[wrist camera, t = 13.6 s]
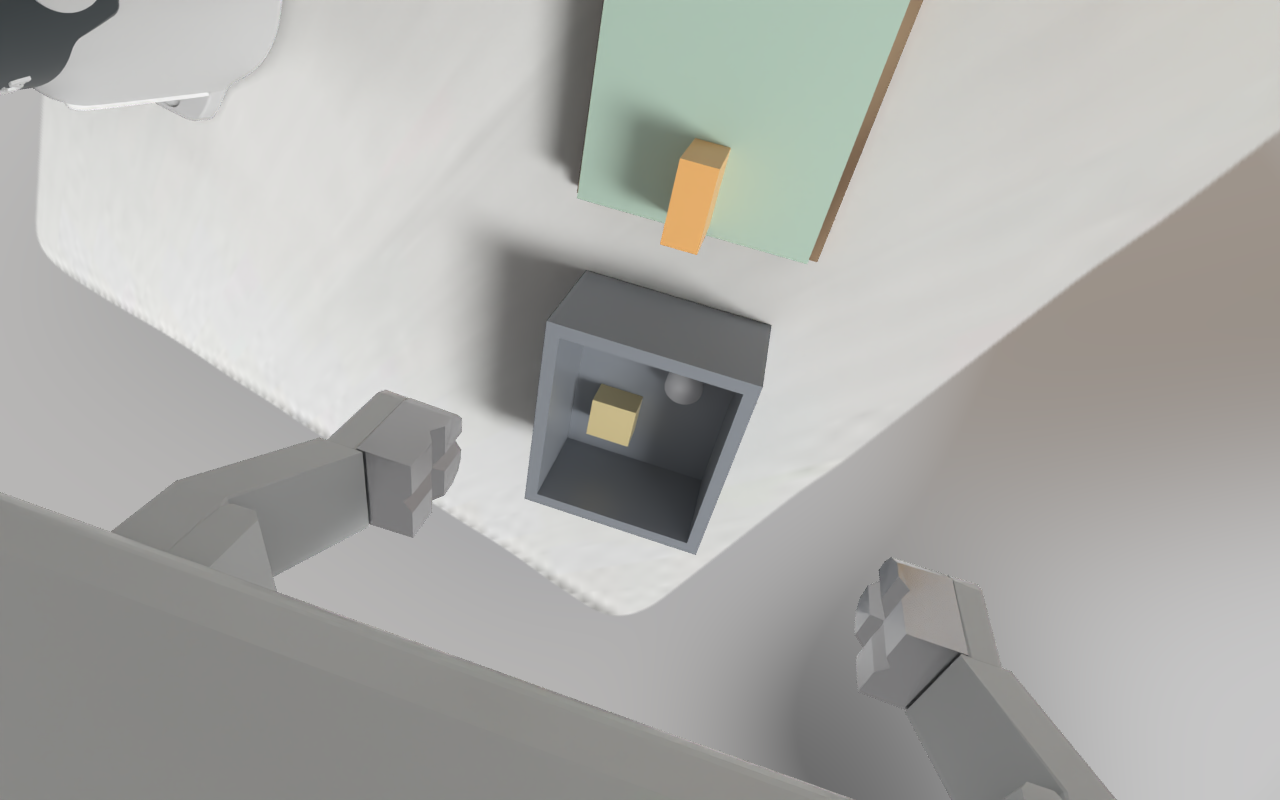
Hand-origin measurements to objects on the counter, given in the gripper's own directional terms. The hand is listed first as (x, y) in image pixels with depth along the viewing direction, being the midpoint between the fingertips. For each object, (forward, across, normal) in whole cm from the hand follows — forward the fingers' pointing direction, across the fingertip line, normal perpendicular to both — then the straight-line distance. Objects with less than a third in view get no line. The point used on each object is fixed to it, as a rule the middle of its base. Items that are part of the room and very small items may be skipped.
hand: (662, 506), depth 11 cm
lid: (+25, +3, -4) cm, 26 cm away
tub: (+26, +3, +16) cm, 31 cm away
